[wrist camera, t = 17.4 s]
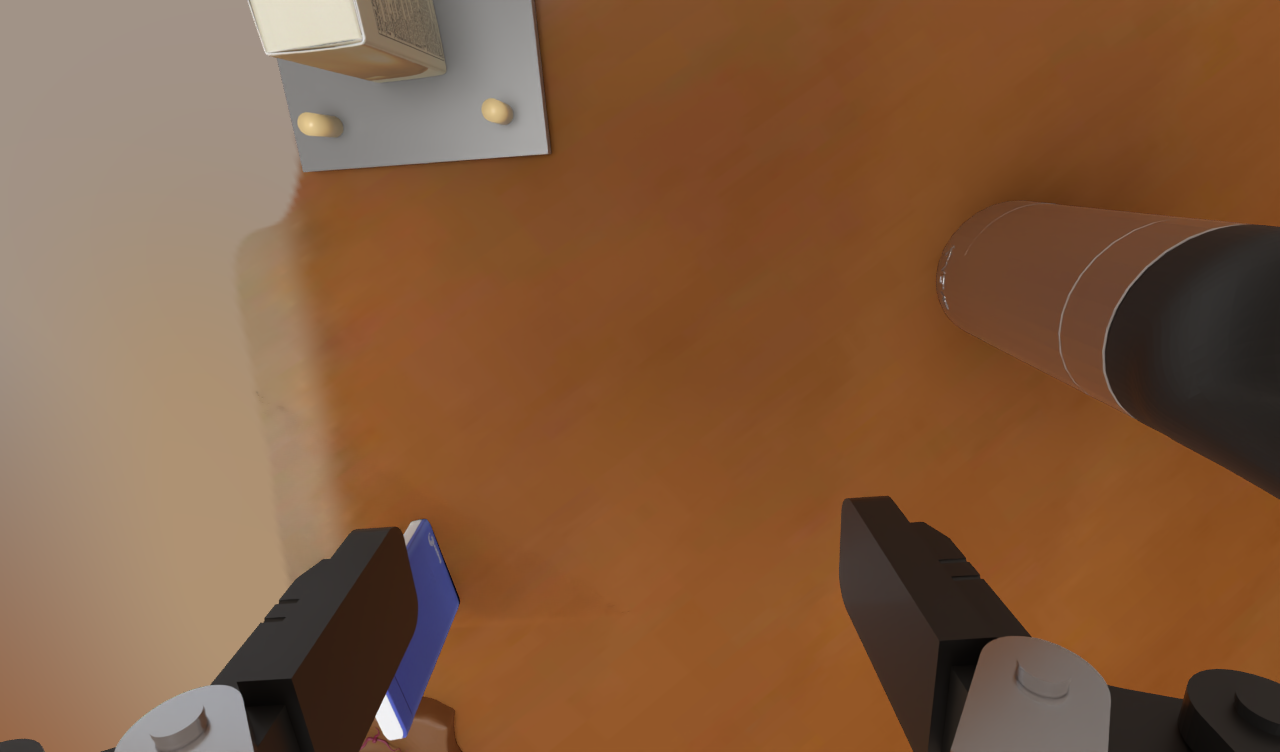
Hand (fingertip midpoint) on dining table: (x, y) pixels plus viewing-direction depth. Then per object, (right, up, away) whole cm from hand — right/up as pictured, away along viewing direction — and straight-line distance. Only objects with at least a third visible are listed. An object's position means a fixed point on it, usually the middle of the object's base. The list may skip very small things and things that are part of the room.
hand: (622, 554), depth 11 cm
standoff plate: (-13, +24, +26) cm, 37 cm away
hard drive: (-16, -11, +38) cm, 43 cm away
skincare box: (-13, +23, +24) cm, 36 cm away
